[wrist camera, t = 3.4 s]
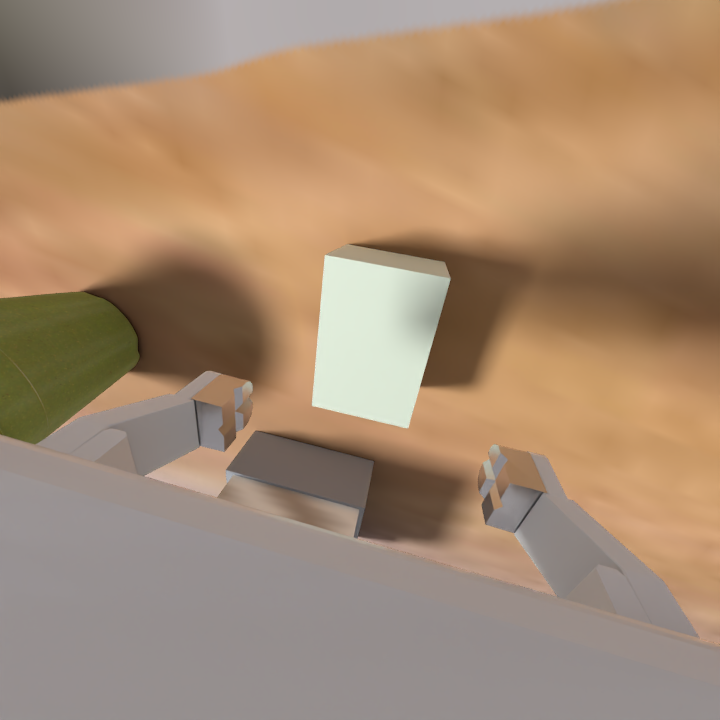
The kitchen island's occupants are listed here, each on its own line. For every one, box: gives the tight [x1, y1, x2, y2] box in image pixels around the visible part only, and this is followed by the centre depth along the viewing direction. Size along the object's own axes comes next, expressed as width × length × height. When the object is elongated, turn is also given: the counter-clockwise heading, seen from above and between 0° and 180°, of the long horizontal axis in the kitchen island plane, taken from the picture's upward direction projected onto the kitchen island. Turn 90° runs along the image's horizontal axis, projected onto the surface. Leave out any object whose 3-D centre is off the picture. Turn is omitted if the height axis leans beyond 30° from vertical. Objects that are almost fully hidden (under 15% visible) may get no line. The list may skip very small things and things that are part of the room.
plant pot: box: [0, 292, 140, 444], centre depth 21 cm, size 12×12×11 cm
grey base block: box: [226, 431, 374, 538], centre depth 28 cm, size 11×11×5 cm
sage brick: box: [312, 244, 451, 428], centre depth 18 cm, size 6×9×5 cm, turn 171°
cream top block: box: [217, 475, 359, 537], centre depth 23 cm, size 10×10×5 cm
